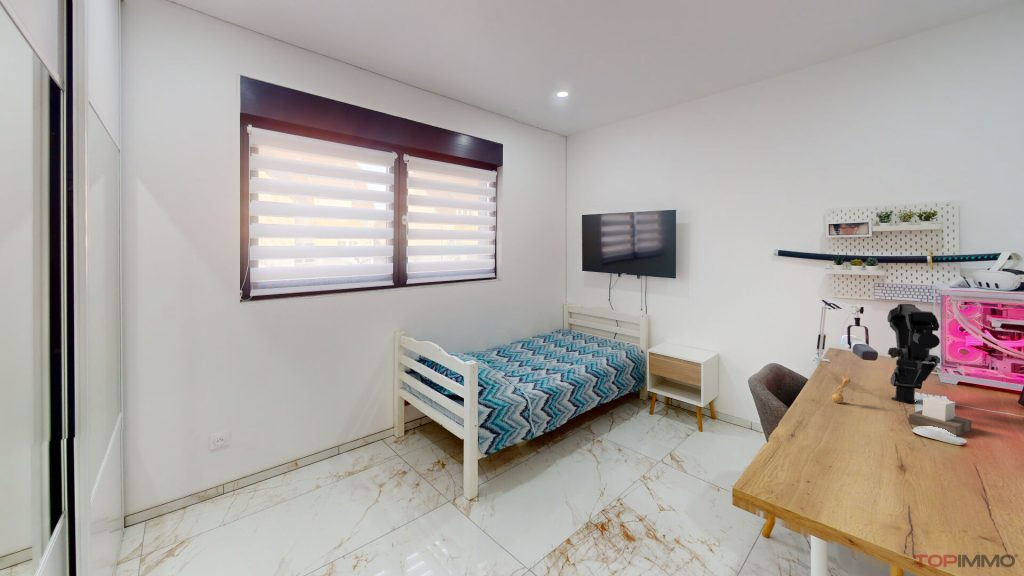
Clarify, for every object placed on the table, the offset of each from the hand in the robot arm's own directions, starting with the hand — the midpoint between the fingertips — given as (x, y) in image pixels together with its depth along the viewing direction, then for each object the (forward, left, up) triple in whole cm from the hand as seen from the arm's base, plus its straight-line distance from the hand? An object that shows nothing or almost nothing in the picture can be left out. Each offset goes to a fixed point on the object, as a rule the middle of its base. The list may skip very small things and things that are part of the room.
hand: (917, 382), depth 153 cm
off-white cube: (+10, +10, -8) cm, 16 cm away
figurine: (+15, -18, -12) cm, 26 cm away
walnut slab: (+10, +10, -12) cm, 19 cm away
